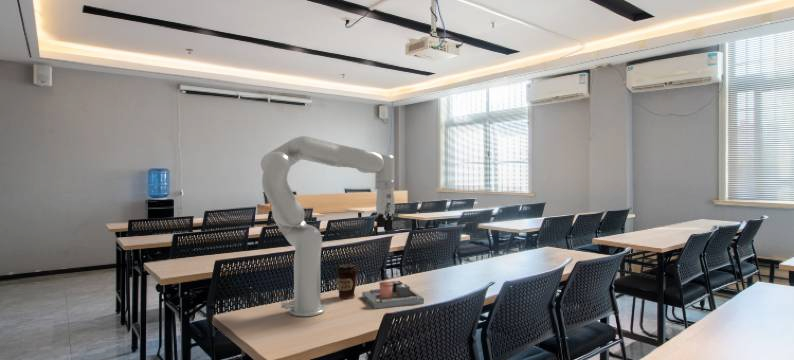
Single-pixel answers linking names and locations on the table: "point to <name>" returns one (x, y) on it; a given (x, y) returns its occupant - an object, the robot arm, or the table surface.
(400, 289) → the toggle
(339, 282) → the coffee cup
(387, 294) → the cap
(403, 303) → the breaker panel
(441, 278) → the table surface
